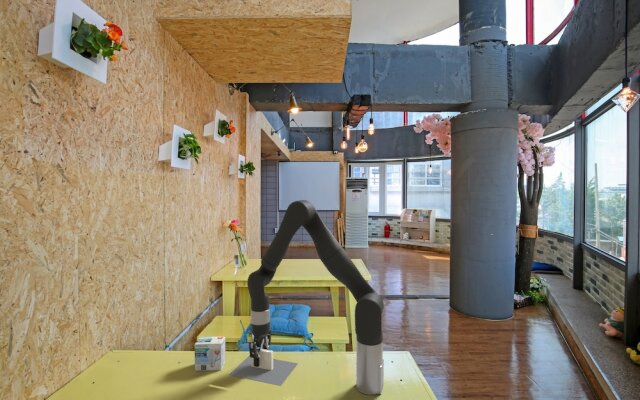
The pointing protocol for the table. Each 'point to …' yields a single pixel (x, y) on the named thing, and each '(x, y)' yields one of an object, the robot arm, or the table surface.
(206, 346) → the light bulb box
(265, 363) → the card deck
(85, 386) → the table surface
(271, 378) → the mat
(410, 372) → the table surface
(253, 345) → the robot arm
